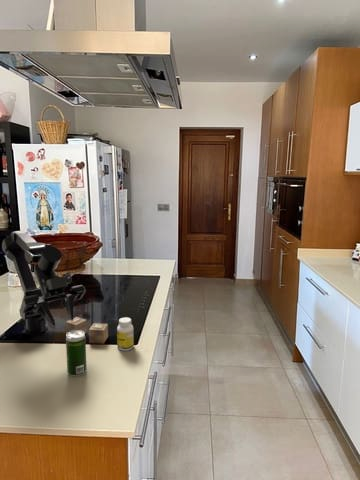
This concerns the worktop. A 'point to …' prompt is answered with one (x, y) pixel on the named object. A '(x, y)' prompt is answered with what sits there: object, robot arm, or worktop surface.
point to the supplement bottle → (125, 334)
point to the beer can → (76, 353)
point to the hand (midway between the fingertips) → (63, 322)
